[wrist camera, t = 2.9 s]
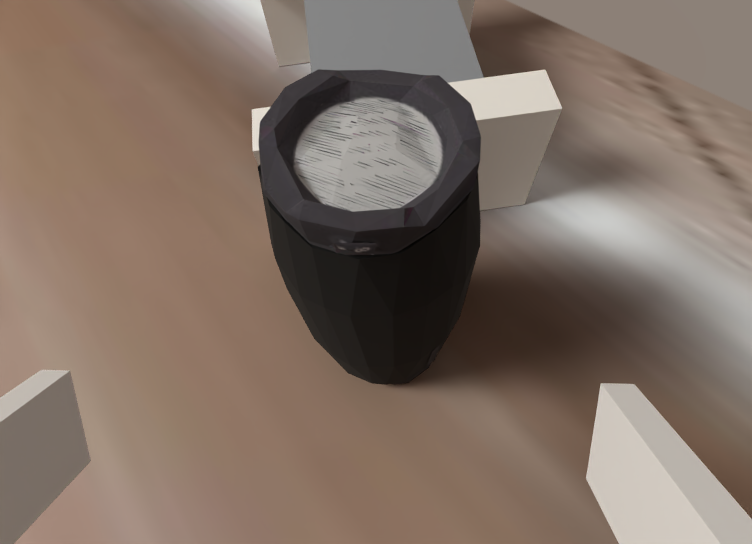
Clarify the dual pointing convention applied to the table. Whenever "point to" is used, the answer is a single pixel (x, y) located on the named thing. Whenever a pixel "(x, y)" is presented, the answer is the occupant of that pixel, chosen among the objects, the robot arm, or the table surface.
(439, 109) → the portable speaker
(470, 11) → the square spool
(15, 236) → the table surface
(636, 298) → the table surface
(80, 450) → the robot arm
